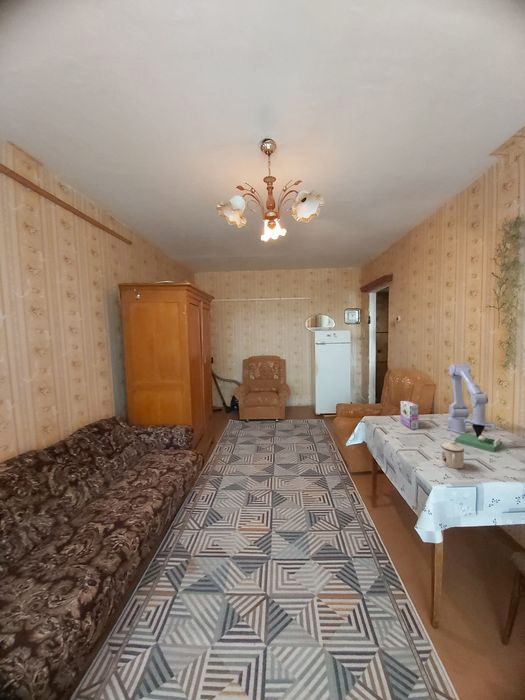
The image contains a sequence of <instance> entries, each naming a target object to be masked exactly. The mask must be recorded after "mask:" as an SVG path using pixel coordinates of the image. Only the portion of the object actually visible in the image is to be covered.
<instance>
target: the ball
mask: <svg viewBox="0 0 525 700" xmlns="http://www.w3.org/2000/svg"><path fill="white" fill-rule="evenodd" d="M486 438H487V437H486V436H485V434H482V433H481V434H480V435H479V437H478V439H479V440H480V441H484V440H485V439H486Z"/></svg>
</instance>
